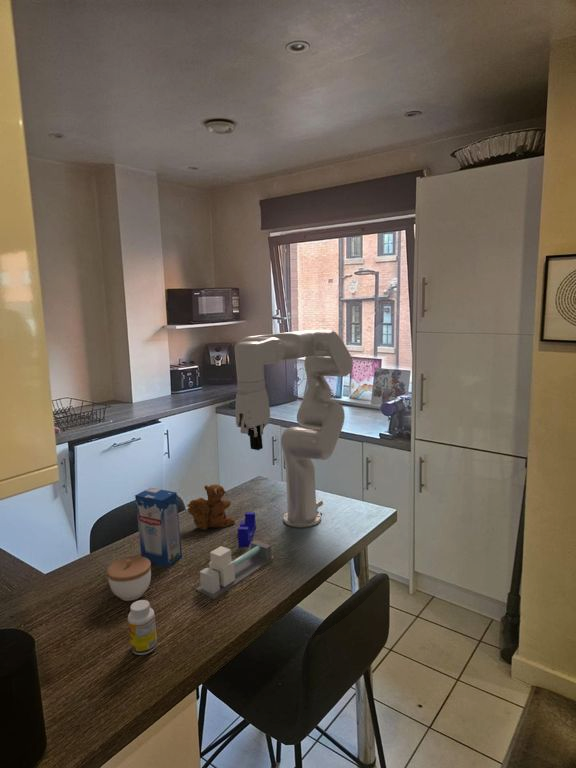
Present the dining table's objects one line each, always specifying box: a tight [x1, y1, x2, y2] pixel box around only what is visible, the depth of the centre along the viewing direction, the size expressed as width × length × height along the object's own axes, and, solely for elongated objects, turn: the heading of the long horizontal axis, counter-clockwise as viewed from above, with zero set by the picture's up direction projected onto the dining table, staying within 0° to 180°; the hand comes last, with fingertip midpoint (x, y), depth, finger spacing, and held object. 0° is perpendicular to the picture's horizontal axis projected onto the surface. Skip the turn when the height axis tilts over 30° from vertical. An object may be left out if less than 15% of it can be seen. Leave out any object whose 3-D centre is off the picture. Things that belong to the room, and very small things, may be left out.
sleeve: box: [208, 546, 235, 587], centre depth 136 cm, size 4×5×8 cm
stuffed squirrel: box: [186, 483, 236, 531], centre depth 170 cm, size 10×14×13 cm
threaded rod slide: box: [194, 539, 276, 600], centre depth 140 cm, size 24×7×5 cm, turn 142°
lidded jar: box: [106, 555, 152, 602], centre depth 133 cm, size 11×11×9 cm
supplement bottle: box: [127, 599, 158, 656], centre depth 112 cm, size 6×6×10 cm
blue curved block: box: [237, 511, 257, 548], centre depth 161 cm, size 12×4×6 cm, turn 173°
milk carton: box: [134, 487, 183, 568], centre depth 149 cm, size 10×6×20 cm, turn 62°
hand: (256, 448), depth 147 cm, fingers closed
